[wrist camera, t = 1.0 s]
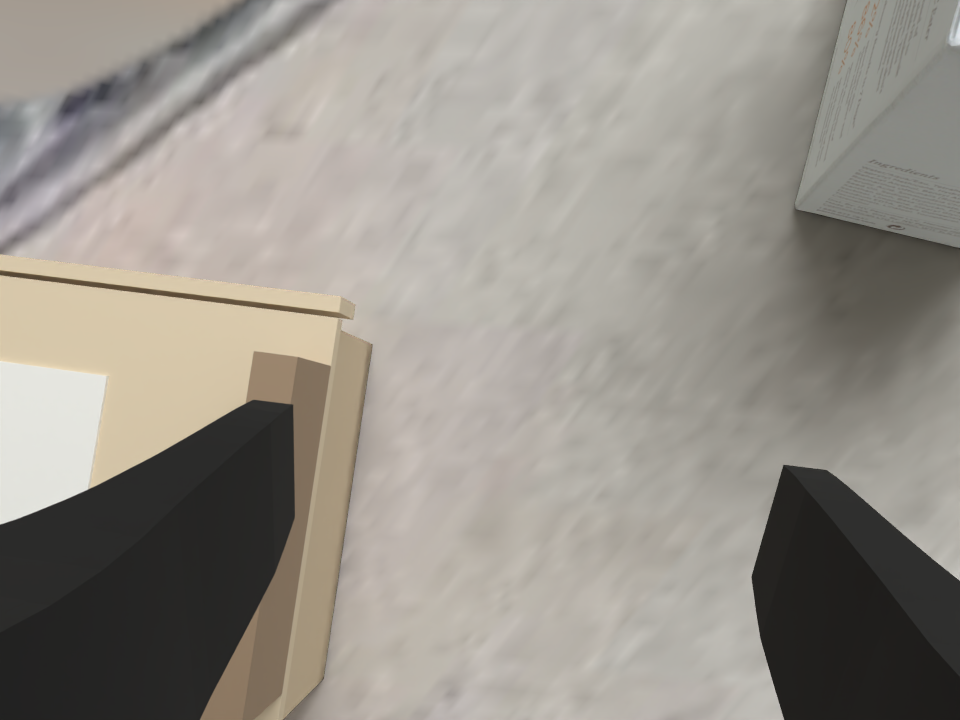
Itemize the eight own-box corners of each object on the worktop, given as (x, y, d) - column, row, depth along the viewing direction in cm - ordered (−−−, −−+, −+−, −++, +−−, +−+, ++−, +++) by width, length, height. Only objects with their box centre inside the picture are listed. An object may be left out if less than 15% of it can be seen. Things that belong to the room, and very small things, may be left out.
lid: (289, 746, 22) (227, 817, 18) (-213, 653, 23) (-372, 698, 19) (355, 304, 23) (309, 277, 19) (-135, 244, 24) (-274, 207, 20)
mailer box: (323, 678, 25) (277, 724, 21) (-107, 602, 27) (-224, 632, 23) (372, 344, 26) (336, 328, 22) (-49, 290, 27) (-154, 266, 23)
